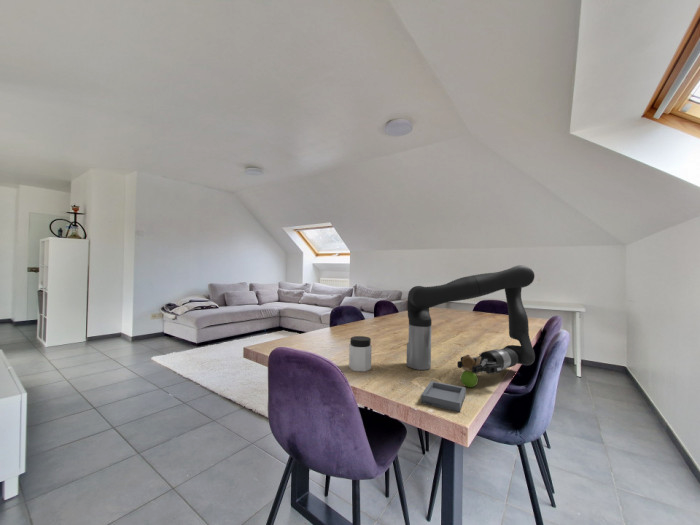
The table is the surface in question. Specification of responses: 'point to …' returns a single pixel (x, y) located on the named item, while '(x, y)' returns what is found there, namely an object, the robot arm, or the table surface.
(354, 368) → the jar
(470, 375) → the snail figurine
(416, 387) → the table surface
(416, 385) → the table surface
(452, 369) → the table surface
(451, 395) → the tray
